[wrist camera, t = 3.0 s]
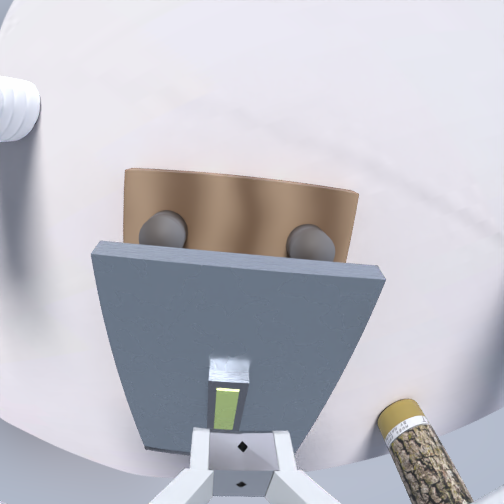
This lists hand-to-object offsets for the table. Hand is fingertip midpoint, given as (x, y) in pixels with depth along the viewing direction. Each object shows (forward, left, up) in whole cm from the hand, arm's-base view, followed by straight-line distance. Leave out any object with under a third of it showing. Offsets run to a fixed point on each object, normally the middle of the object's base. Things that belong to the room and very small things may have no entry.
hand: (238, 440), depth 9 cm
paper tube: (-26, +24, -22) cm, 41 cm away
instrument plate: (0, +11, -14) cm, 17 cm away
